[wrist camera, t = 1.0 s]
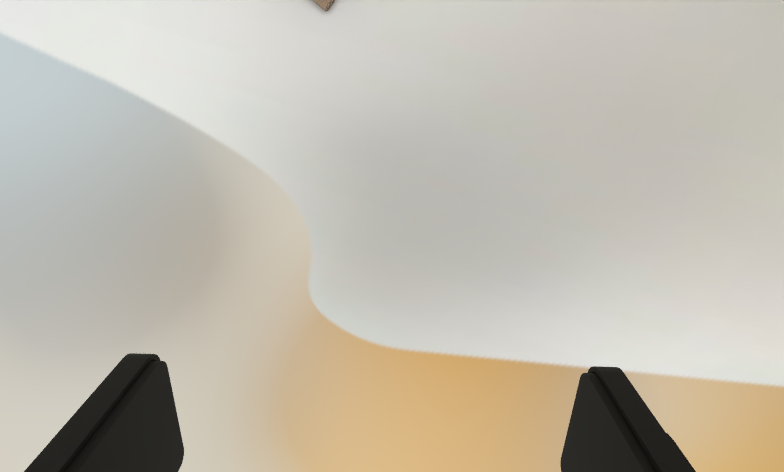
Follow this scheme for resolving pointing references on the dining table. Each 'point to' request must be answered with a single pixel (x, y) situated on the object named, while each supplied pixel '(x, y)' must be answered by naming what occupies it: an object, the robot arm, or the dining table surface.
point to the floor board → (324, 3)
